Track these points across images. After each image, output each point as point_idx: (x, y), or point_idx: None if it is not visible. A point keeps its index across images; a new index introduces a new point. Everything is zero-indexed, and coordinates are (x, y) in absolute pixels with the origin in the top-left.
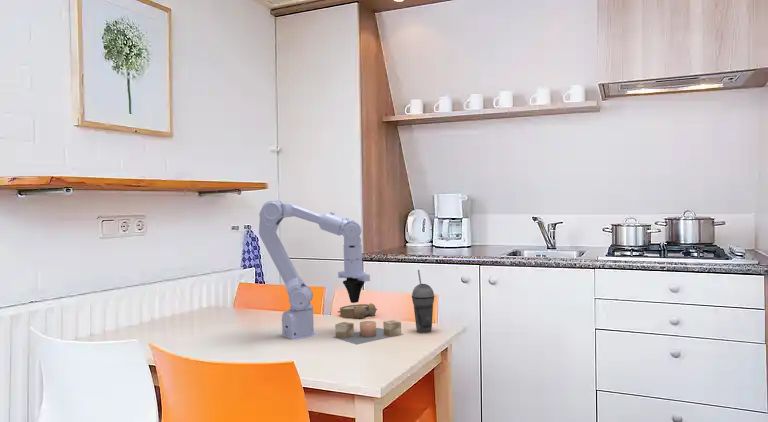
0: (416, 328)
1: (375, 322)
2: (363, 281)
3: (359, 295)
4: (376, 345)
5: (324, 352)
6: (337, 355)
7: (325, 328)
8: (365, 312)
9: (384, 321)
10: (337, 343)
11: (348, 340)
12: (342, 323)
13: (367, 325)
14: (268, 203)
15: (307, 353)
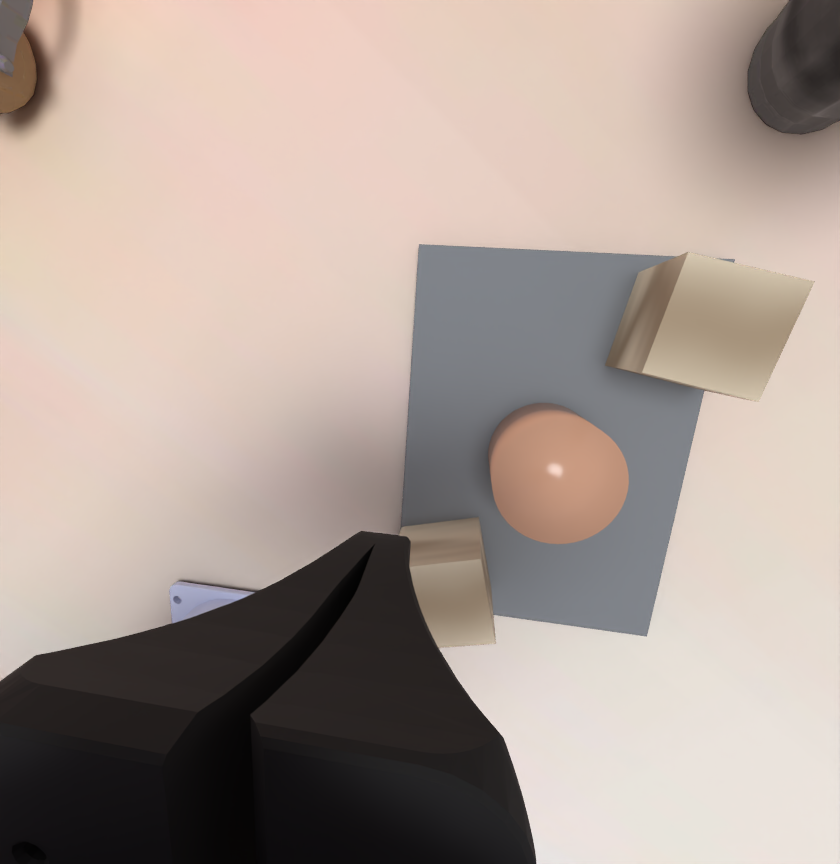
0: (798, 107)
1: (607, 439)
2: (525, 846)
3: (409, 574)
4: (725, 551)
5: (585, 775)
6: (684, 781)
7: (151, 452)
8: (10, 21)
9: (649, 364)
10: (498, 638)
11: (535, 603)
12: (421, 607)
13: (602, 524)
14: None
15: (532, 818)
